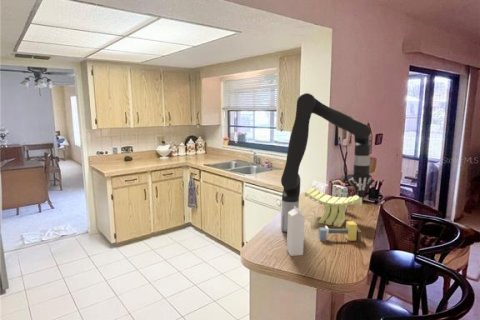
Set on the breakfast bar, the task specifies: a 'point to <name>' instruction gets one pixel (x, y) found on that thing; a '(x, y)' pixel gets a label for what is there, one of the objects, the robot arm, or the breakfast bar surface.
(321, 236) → the block
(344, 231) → the grey slider rail
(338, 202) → the slatted curved stool
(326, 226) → the pale beige end plate
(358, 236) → the tan flat end block
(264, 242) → the breakfast bar surface
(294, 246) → the milk
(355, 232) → the yellow sliding collar
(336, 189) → the candy bar box
